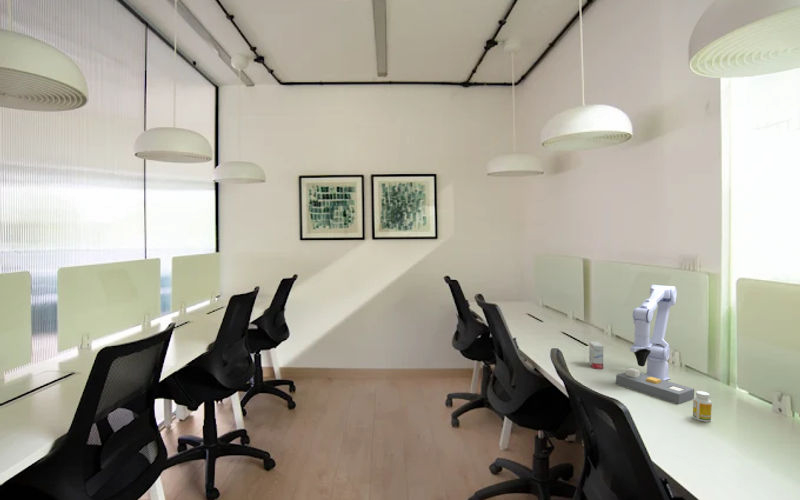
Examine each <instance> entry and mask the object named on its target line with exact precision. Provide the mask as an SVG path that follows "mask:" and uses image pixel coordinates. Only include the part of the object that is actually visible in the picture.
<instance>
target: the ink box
mask: <svg viewBox="0 0 800 500" xmlns="http://www.w3.org/2000/svg"><path fill="white" fill-rule="evenodd" d="M588 343H589V344H588V345H589V351H588V364H589V365H590V366H591V367H592V368H593V369H595V370H596V369H598V370H604V345H603V344H602V343H600V342H598V341H589V342H588Z"/></svg>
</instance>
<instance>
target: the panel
mask: <svg viewBox="0 0 800 500" xmlns="http://www.w3.org/2000/svg"><path fill="white" fill-rule="evenodd" d="M649 377H652V376H648V375H647V374H644V373H641V372H640V376H639V377H636V378H634V377H631V376H627V375H626V371H624V372H622V373H618V374H616V375H615V384H617V385H618V386H622V387H625V388H628V389H630V390H634V391H637V392H641V393H643V394H646V395H649V396H652V397H656V398H659V399H661V400H665V401H668V402H670V403H673V404H677V405H681V404H683V403H686V402H688V401H691V400H693V399H694V397H695V388H693V387H690V386H689V387H688V386H686V385H682V384H678V383H675V382H672V381H669V380H662V379H661V383H658V384H654V383H651V382H647V381H646V378H649ZM654 378H655V377H654ZM657 379H659V378H657ZM672 386H675V387H678V388H681V389H684V390H681V391H677V390H674V389H670V387H672Z"/></svg>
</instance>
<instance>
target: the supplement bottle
mask: <svg viewBox="0 0 800 500" xmlns="http://www.w3.org/2000/svg"><path fill="white" fill-rule="evenodd" d="M710 396H711V395H710V393H708V392H706V391H702V390H696V391H695V396H694V399H692V401H693V402H692V417H693V419H694V420H696V421H700V422H705V423H709V422H711V421H712V403H713V402H712V400H710V398H711V397H710Z"/></svg>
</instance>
